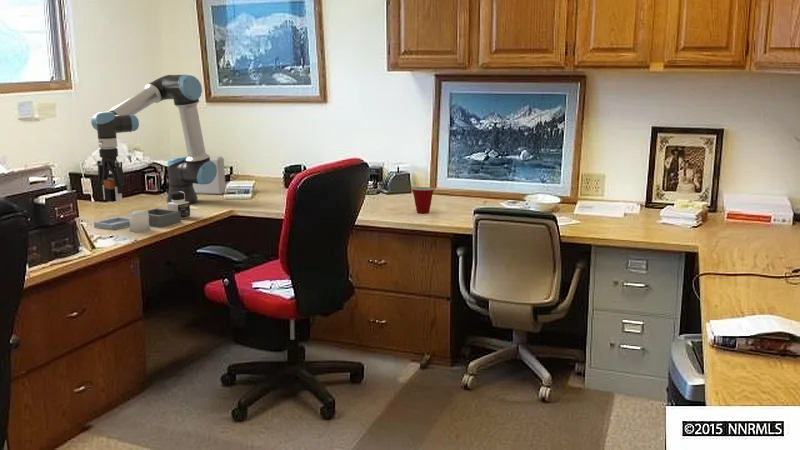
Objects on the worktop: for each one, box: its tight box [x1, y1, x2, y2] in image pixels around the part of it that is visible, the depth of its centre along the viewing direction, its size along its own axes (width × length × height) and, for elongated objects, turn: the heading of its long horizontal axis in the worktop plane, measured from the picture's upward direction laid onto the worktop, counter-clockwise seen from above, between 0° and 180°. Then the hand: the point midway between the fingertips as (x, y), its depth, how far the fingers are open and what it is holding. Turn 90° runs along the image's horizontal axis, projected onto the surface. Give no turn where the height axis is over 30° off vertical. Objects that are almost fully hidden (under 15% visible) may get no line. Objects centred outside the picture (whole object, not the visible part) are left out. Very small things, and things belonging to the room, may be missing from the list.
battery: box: [103, 177, 117, 203], centre depth 331 cm, size 4×7×10 cm, turn 46°
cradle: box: [146, 207, 182, 228], centre depth 338 cm, size 12×15×5 cm
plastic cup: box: [411, 186, 435, 215], centre depth 354 cm, size 11×11×12 cm
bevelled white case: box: [193, 155, 227, 195], centre depth 409 cm, size 21×8×20 cm, turn 77°
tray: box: [93, 216, 130, 231], centre depth 335 cm, size 13×12×2 cm
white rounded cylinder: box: [128, 209, 151, 233], centre depth 325 cm, size 8×8×8 cm
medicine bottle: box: [167, 191, 191, 220], centre depth 349 cm, size 7×7×12 cm
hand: (113, 199), depth 332 cm, fingers closed on battery, 7 cm apart
